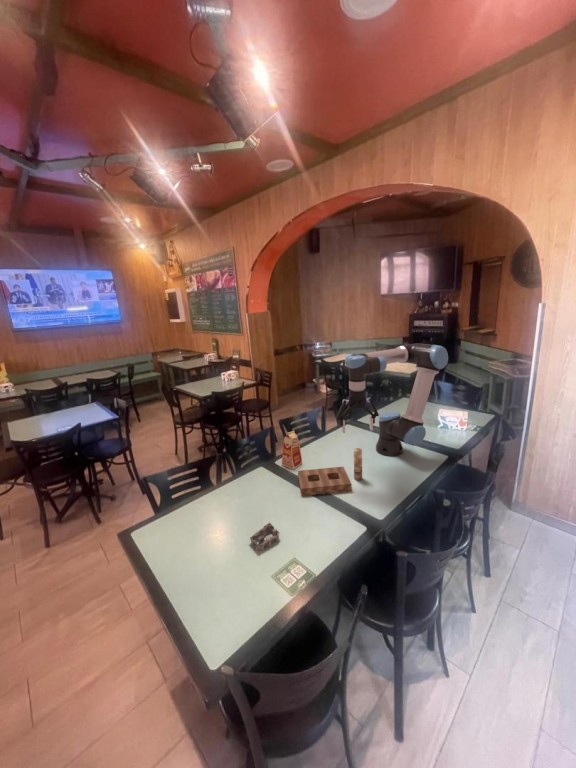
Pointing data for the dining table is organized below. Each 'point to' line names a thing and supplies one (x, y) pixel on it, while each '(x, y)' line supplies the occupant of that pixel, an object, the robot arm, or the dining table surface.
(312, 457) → the dining table surface
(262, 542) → the egg carton
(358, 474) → the peg
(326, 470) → the board
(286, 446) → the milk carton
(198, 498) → the dining table surface
